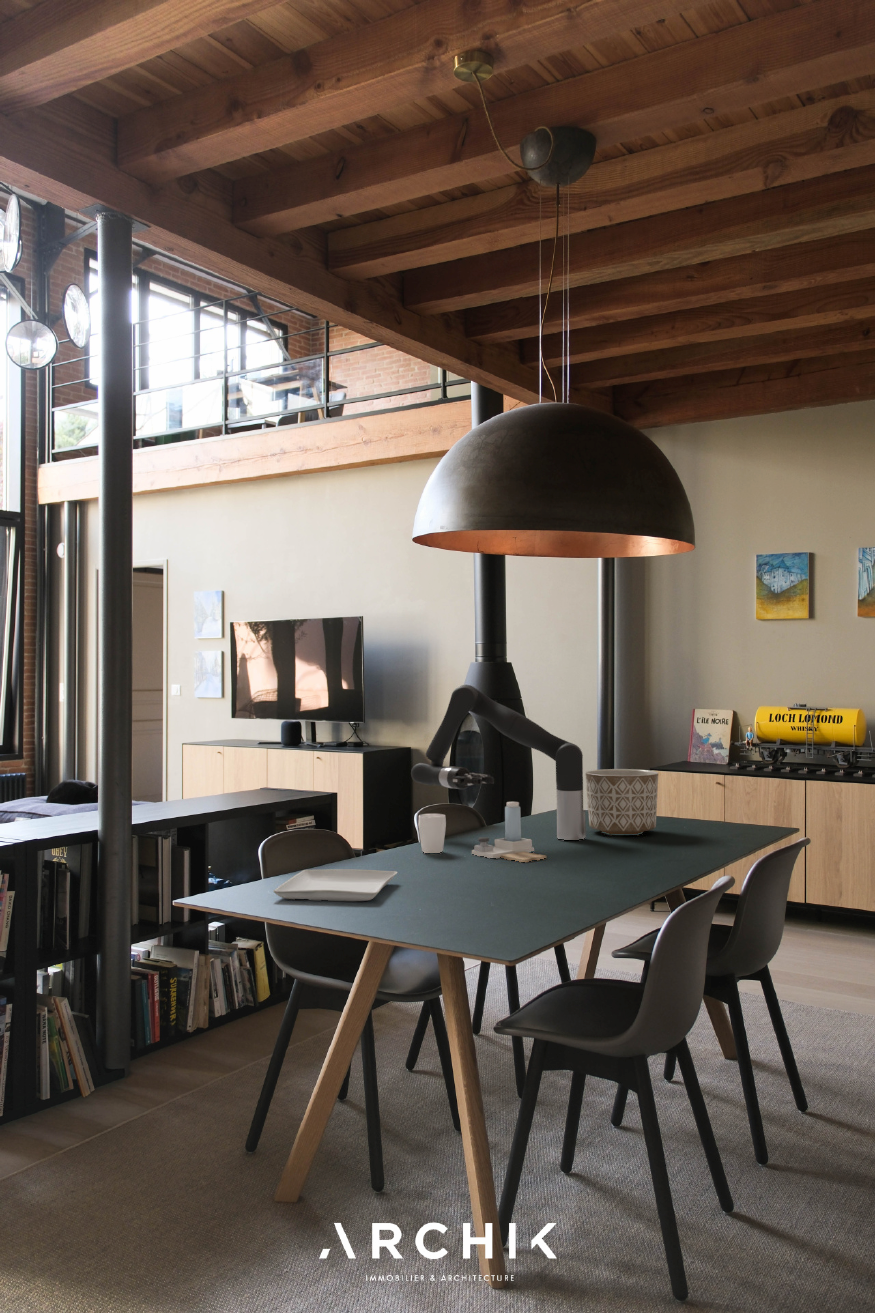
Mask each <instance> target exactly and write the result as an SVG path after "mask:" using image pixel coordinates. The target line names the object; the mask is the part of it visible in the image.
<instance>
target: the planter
mask: <svg viewBox="0 0 875 1313" xmlns="http://www.w3.org/2000/svg"><path fill="white" fill-rule="evenodd" d="M584 774H585V775H584V776H585V784H586V785H585V786H586V787H585V789H586V797H587V798H586V799H587V811H588V824H589V827H590V828H591V829H593V830H596V831H602V832H606V833H609V834H638V833H641V832H644V833H645V832H647V831H651V830H654V829H655V828H656V826H657V812H658V811H657V810H658V809H657V808H658V793H659V791H658V790H659V789H658V788H659V786H658V785H659V772H658V771H655V770H647V769H637V768H636V769H634V768H631V769H628V768H612V769H611V768H610V769H608V768H607V769H605V768H604V769H593V770H592V769H591V770H587V771H585V772H584ZM602 832H601V833H602Z"/></svg>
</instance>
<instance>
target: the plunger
mask: <svg viewBox="0 0 875 1313" xmlns="http://www.w3.org/2000/svg"><path fill="white" fill-rule="evenodd" d="M477 841H478V842H480V844H479V845H480V846H482V847H485V846H487V845H488V842H490V838H489V837H487V836H486V837H485V836H484V837H483V836H481V837H478V839H477Z"/></svg>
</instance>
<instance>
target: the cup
mask: <svg viewBox="0 0 875 1313" xmlns="http://www.w3.org/2000/svg"><path fill="white" fill-rule="evenodd" d="M417 823H418V832H419V839H420V845H421V847H420V848H421V852H422V851H423V852H424V853H423V852H422V853H423V854H425V853H440V852H442V851H444V843H445V835H446V829H447V828H446V826H447V820H446V814H444V813H443V814H442V813H422V814H419V815H418V822H417ZM442 853H443V852H442ZM440 854H441V853H440Z"/></svg>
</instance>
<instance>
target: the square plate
mask: <svg viewBox="0 0 875 1313" xmlns="http://www.w3.org/2000/svg"><path fill="white" fill-rule="evenodd" d="M397 874H398V871H396V870H394V871H393V870H392V871H391V870H378V869H376V870H375V869H357V868H356V869H355V868H354V869H353V868H350V869H349V868H347V869H345V868H344V869H343V868H339V869H338V868H336V869H335V868H333V869H331V868H330V869H329V868H328V869H303V870H301V871H300V872H298V873H296V874H295V875H294V876H292V877H291V878H289V879H287V880H286V881H285V882H283V883H281V884H280V885H279V886H278V887H276V888H275V889H274V890H273V893H275V895H276V896H278V897H279V898H282V899H285V900H295V899H309V900H308V901H321V900H328V901H330V902H365V901H366V902H369V901H371V900H373V899H374V898H375V897H376V896H377V895H378V893H380V891H381V890H382V889H384V887H385V886H388V884H389V883H390V882H391V881H392V880H393V879H394V877H395V876H396V875H397ZM328 901H327V902H328Z"/></svg>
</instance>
